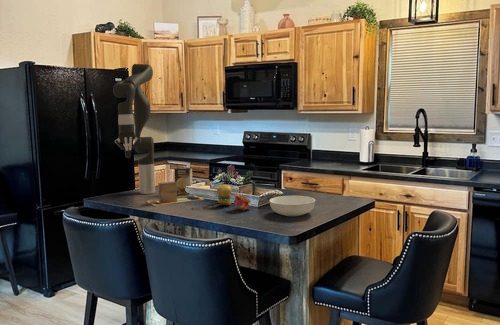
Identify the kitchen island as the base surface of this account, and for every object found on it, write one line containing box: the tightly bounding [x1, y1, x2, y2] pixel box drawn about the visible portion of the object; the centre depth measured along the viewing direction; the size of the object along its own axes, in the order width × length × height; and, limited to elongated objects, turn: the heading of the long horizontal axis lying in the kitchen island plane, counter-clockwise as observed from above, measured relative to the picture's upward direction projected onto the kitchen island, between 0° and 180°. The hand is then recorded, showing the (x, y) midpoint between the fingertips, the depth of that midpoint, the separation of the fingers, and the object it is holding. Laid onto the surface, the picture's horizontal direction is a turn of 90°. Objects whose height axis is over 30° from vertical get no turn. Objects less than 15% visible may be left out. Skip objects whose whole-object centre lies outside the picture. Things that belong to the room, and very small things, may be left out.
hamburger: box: [216, 183, 233, 206], centre depth 228 cm, size 8×7×12 cm
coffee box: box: [174, 166, 193, 195], centre depth 257 cm, size 9×6×16 cm
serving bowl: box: [269, 195, 316, 217], centre depth 208 cm, size 21×21×7 cm
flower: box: [232, 193, 253, 211], centre depth 219 cm, size 10×9×8 cm
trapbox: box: [145, 194, 206, 207], centre depth 236 cm, size 14×27×2 cm, turn 121°
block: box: [157, 180, 178, 204], centre depth 233 cm, size 5×8×10 cm, turn 121°
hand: (128, 157), depth 229 cm, fingers closed
